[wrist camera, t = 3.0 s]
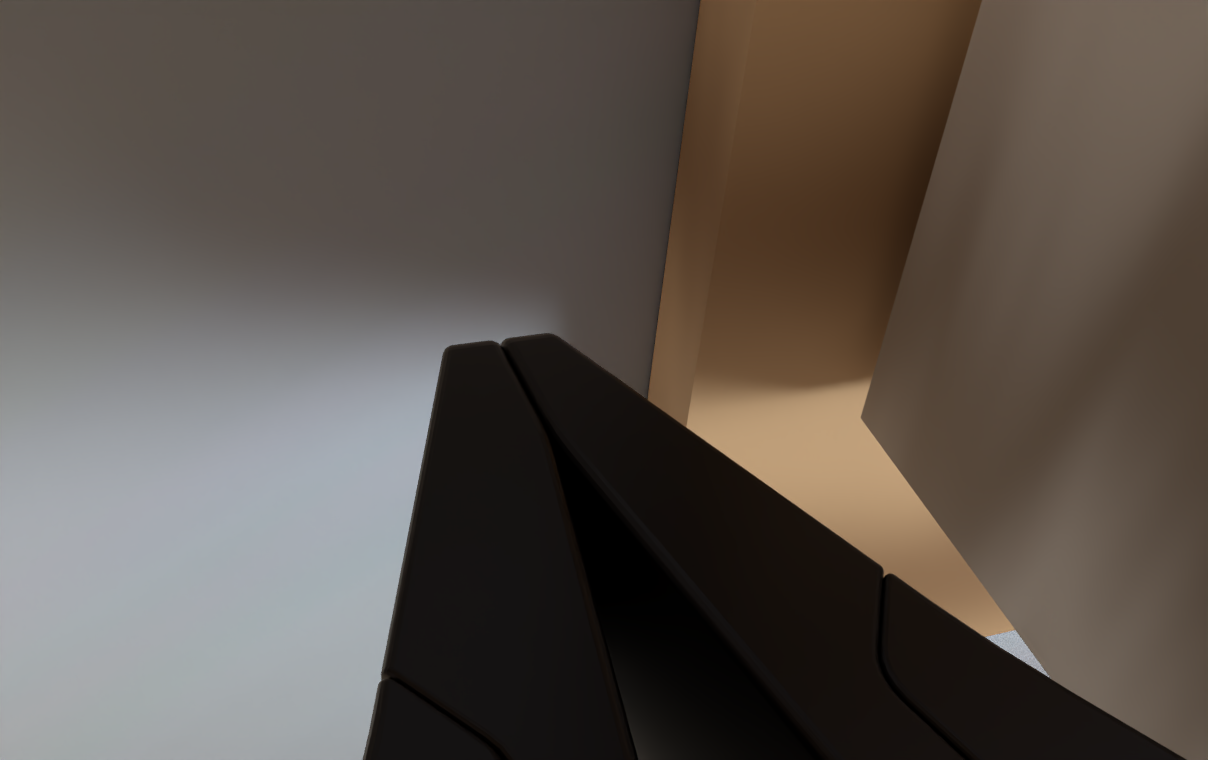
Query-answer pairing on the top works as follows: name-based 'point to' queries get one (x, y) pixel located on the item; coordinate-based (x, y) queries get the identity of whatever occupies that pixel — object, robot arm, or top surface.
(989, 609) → the base board
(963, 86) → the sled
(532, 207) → the top surface
